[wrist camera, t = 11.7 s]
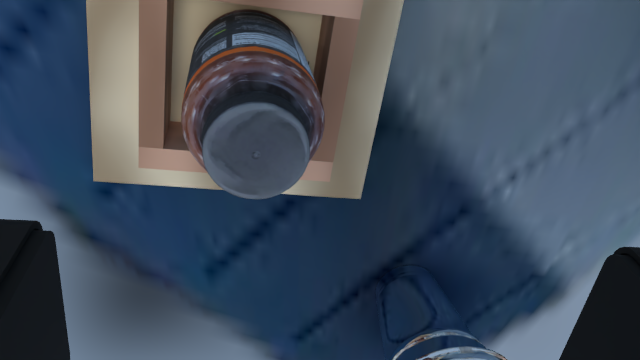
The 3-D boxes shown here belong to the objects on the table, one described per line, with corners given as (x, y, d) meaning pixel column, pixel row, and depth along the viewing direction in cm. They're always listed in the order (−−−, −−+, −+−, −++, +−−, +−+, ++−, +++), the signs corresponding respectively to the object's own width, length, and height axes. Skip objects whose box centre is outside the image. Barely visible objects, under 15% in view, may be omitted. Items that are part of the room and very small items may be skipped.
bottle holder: (413, -77, 29) (442, -67, 25) (356, 189, 37) (371, 230, 33) (86, -131, 26) (59, -130, 22) (98, 171, 34) (79, 213, 30)
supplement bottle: (272, 130, 32) (288, 245, 23) (174, 84, 30) (145, 190, 21) (324, 39, 30) (365, 123, 20) (222, -17, 28) (215, 47, 18)
